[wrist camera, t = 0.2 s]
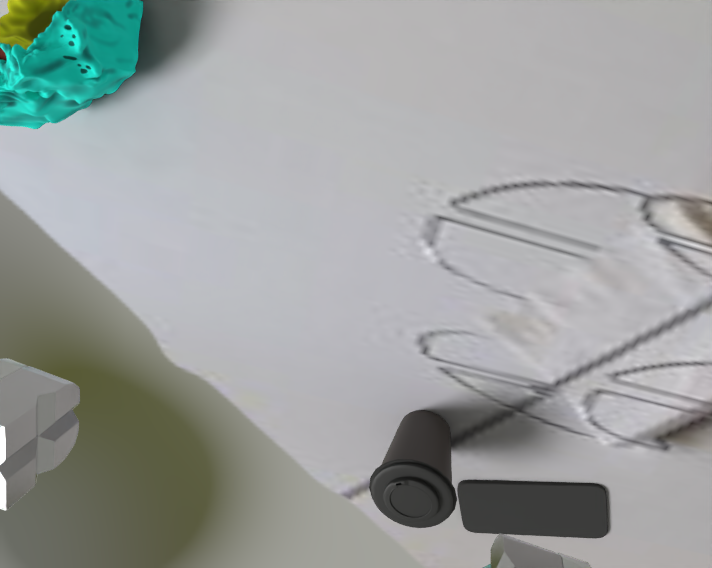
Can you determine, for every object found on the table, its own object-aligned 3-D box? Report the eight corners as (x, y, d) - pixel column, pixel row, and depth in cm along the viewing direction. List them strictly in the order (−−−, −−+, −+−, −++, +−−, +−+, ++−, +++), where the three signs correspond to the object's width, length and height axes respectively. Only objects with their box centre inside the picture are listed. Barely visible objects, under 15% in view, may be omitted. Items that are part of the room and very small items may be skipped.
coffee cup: (415, 385, 56) (397, 453, 47) (480, 429, 56) (474, 505, 47) (373, 431, 60) (350, 502, 51) (434, 472, 60) (421, 549, 51)
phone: (608, 539, 58) (464, 532, 62) (606, 533, 58) (464, 527, 63) (606, 485, 55) (455, 482, 59) (604, 479, 56) (456, 477, 60)
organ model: (-78, -105, 40) (-5, -85, 33) (84, -37, 50) (166, -12, 43) (-94, 99, 45) (-33, 153, 38) (57, 125, 54) (127, 171, 48)
